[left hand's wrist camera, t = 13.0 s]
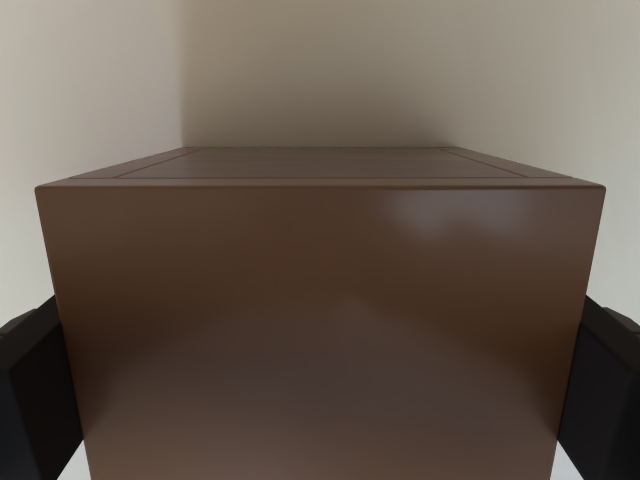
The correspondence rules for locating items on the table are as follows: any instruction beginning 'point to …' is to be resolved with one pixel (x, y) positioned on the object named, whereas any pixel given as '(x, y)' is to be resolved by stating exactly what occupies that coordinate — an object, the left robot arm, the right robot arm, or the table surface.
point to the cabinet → (320, 312)
